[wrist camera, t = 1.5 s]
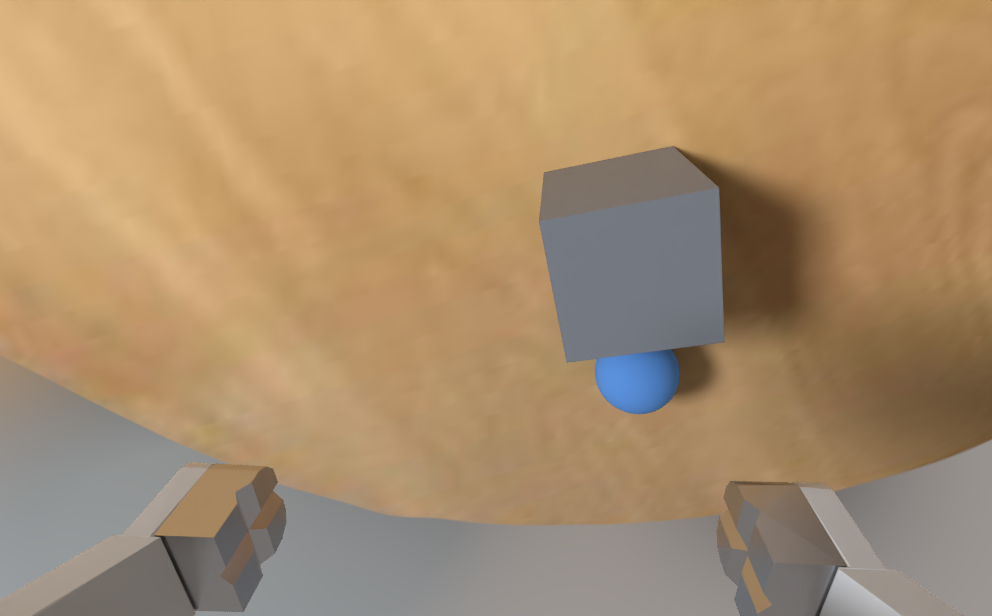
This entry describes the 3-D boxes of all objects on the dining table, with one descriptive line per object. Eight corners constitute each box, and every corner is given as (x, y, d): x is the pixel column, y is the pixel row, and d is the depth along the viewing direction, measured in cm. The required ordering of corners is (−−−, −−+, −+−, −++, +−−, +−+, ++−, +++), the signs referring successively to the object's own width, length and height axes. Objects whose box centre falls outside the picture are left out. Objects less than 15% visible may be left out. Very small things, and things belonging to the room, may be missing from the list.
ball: (667, 311, 32) (685, 355, 27) (673, 376, 34) (691, 426, 29) (587, 323, 33) (592, 366, 28) (598, 385, 35) (604, 435, 30)
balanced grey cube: (673, 146, 27) (719, 187, 19) (681, 265, 30) (724, 342, 22) (543, 172, 29) (539, 221, 21) (564, 283, 32) (566, 362, 24)
